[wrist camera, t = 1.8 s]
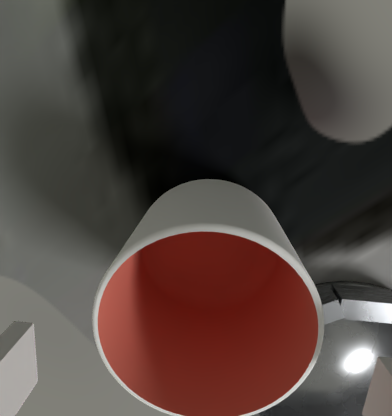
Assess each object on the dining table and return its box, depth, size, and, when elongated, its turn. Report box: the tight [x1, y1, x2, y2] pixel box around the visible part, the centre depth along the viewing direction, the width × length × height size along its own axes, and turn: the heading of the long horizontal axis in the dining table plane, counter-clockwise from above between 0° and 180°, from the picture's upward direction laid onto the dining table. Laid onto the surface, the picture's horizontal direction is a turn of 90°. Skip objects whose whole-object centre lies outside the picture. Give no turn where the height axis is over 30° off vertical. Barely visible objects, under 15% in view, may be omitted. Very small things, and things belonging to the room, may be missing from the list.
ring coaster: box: [251, 281, 392, 416], centre depth 24 cm, size 16×16×3 cm
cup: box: [92, 179, 324, 416], centre depth 18 cm, size 10×10×10 cm
